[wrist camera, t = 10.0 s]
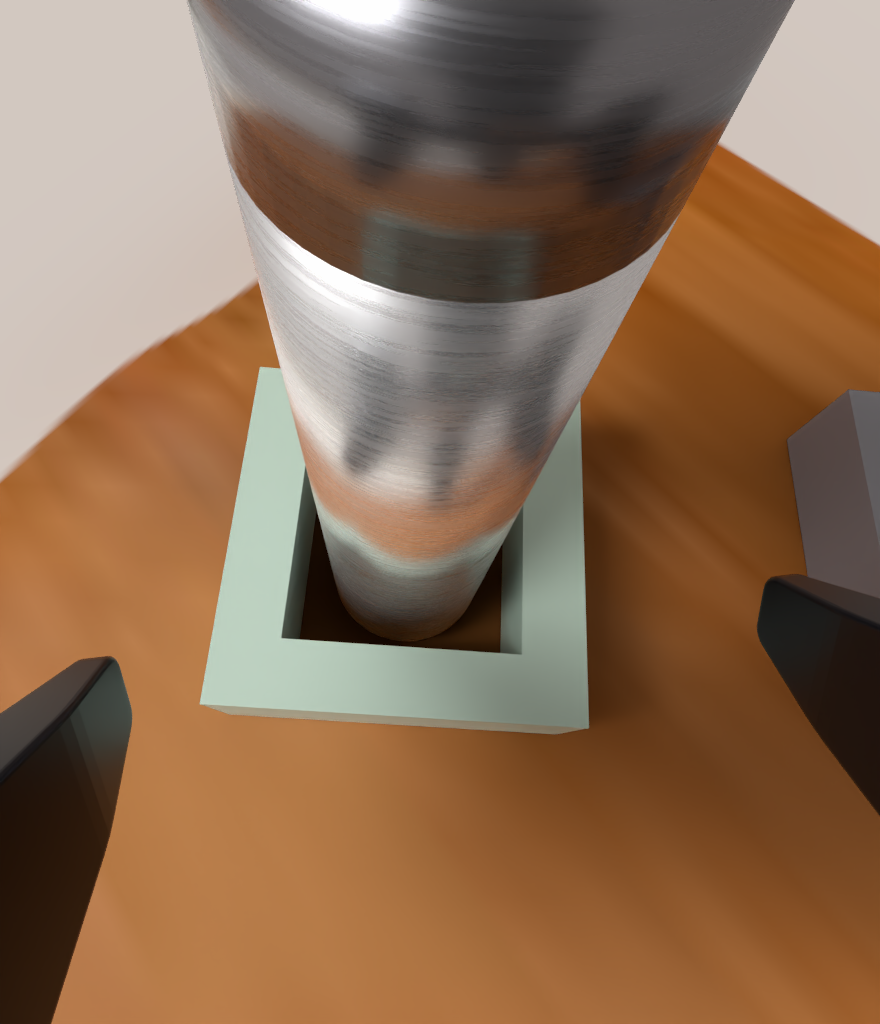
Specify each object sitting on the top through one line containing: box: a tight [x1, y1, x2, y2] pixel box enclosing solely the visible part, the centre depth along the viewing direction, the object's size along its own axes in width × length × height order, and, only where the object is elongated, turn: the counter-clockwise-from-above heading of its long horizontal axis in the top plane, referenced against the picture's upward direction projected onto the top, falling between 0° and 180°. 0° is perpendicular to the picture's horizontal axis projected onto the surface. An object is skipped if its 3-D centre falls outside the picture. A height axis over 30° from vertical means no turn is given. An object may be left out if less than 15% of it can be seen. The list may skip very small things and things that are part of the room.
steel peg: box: [187, 0, 794, 641], centre depth 11 cm, size 4×4×16 cm
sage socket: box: [200, 367, 589, 734], centre depth 17 cm, size 8×8×3 cm
